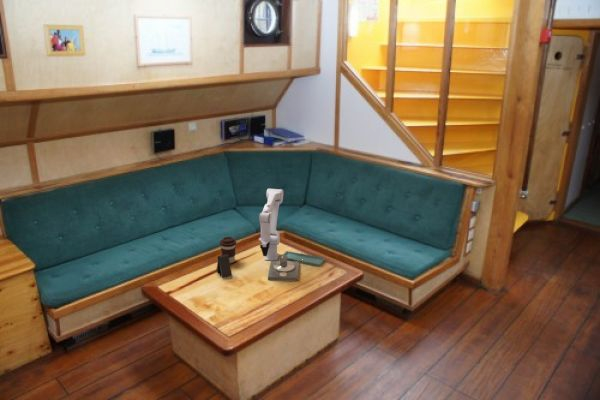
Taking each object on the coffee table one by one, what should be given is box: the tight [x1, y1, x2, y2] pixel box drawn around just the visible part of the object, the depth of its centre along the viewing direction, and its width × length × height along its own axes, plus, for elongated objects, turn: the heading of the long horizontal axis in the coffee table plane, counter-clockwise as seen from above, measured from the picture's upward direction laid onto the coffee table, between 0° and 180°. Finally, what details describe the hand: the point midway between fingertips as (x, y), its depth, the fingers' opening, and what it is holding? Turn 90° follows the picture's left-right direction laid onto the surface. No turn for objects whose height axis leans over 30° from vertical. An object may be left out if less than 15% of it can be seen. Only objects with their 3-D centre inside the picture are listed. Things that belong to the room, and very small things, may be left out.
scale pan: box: [273, 260, 295, 272], centre depth 292 cm, size 13×13×1 cm
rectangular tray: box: [282, 250, 325, 267], centre depth 305 cm, size 26×9×2 cm, turn 68°
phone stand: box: [216, 254, 233, 278], centre depth 286 cm, size 9×6×12 cm, turn 32°
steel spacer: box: [279, 254, 288, 267], centre depth 291 cm, size 4×4×6 cm
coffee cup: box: [219, 236, 237, 264], centre depth 300 cm, size 10×10×15 cm
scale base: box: [267, 260, 300, 282], centre depth 290 cm, size 20×17×2 cm
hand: (265, 253), depth 291 cm, fingers open, 7 cm apart
